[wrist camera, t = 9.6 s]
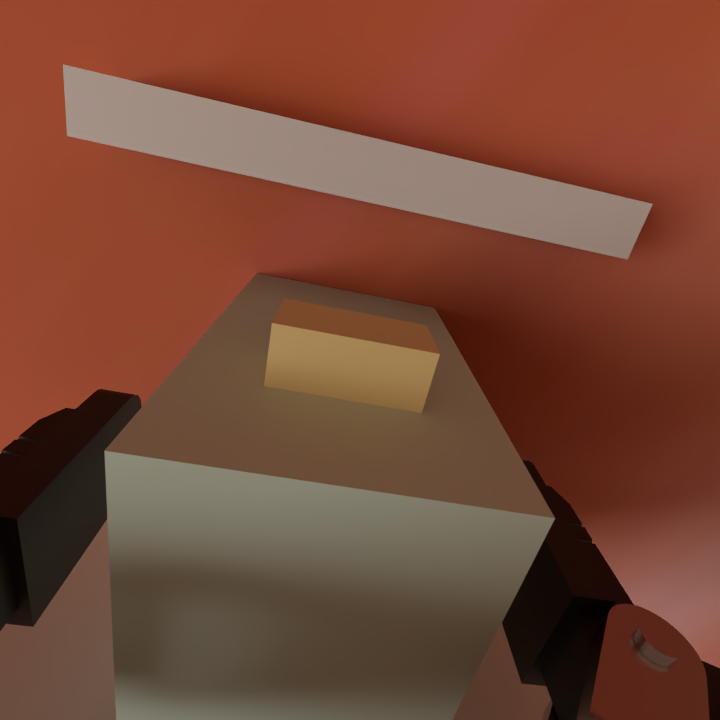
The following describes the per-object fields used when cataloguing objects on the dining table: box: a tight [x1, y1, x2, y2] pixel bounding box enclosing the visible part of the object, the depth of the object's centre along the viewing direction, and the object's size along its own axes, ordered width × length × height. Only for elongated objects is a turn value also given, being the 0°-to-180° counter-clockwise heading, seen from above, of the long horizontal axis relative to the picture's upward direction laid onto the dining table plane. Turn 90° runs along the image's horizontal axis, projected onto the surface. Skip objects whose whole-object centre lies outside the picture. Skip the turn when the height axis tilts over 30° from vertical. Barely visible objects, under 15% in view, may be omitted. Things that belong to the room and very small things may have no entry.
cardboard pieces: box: [0, 65, 653, 720], centre depth 8 cm, size 12×11×10 cm
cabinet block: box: [104, 273, 555, 720], centre depth 9 cm, size 5×7×8 cm
